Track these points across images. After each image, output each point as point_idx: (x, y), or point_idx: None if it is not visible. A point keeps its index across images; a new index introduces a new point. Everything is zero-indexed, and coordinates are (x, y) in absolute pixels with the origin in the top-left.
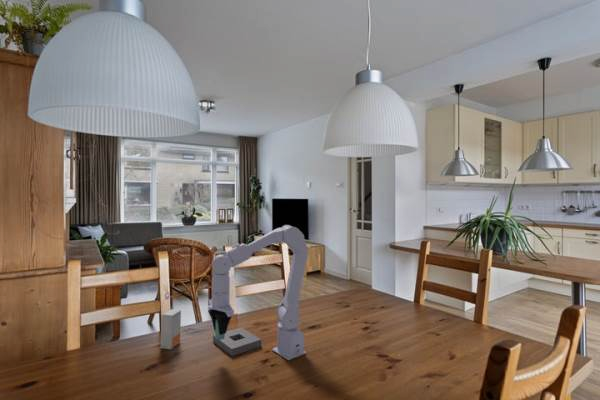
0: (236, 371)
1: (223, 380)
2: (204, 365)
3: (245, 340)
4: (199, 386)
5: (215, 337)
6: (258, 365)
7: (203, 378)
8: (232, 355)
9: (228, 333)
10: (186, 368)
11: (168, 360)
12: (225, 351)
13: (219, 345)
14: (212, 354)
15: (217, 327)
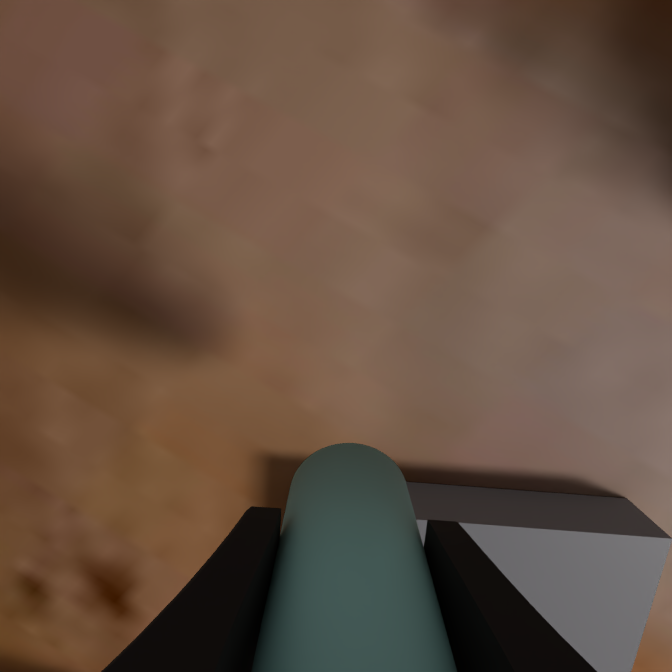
0: (100, 384)
1: (43, 251)
2: (334, 256)
3: None
4: (68, 63)
5: (370, 454)
6: (83, 529)
7: (158, 149)
8: None
9: (589, 642)
10: (394, 116)
11: (646, 53)
12: (412, 482)
13: (517, 496)
14: (447, 391)
15: (310, 583)
